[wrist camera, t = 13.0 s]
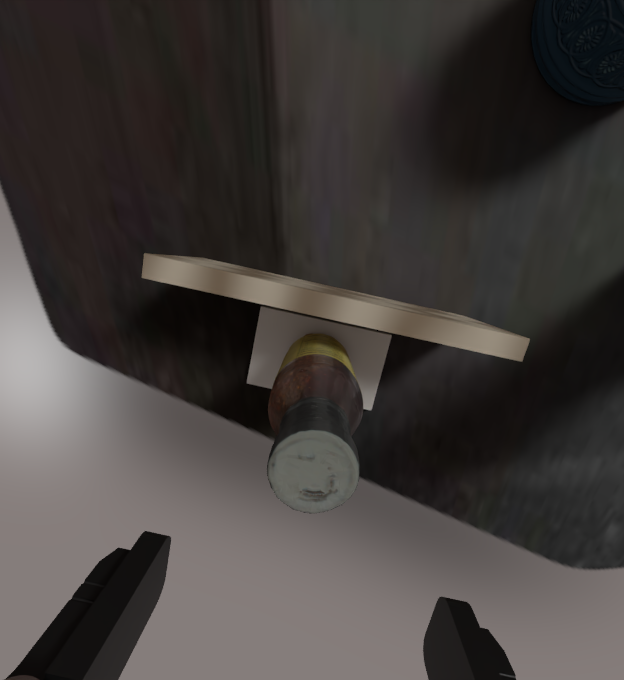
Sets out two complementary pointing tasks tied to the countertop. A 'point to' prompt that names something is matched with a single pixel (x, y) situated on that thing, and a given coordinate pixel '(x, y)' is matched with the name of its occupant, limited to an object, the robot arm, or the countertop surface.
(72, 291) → the countertop surface
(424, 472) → the countertop surface
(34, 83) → the countertop surface
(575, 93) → the canister
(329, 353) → the sauce bottle
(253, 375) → the white plate
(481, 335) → the birch board
